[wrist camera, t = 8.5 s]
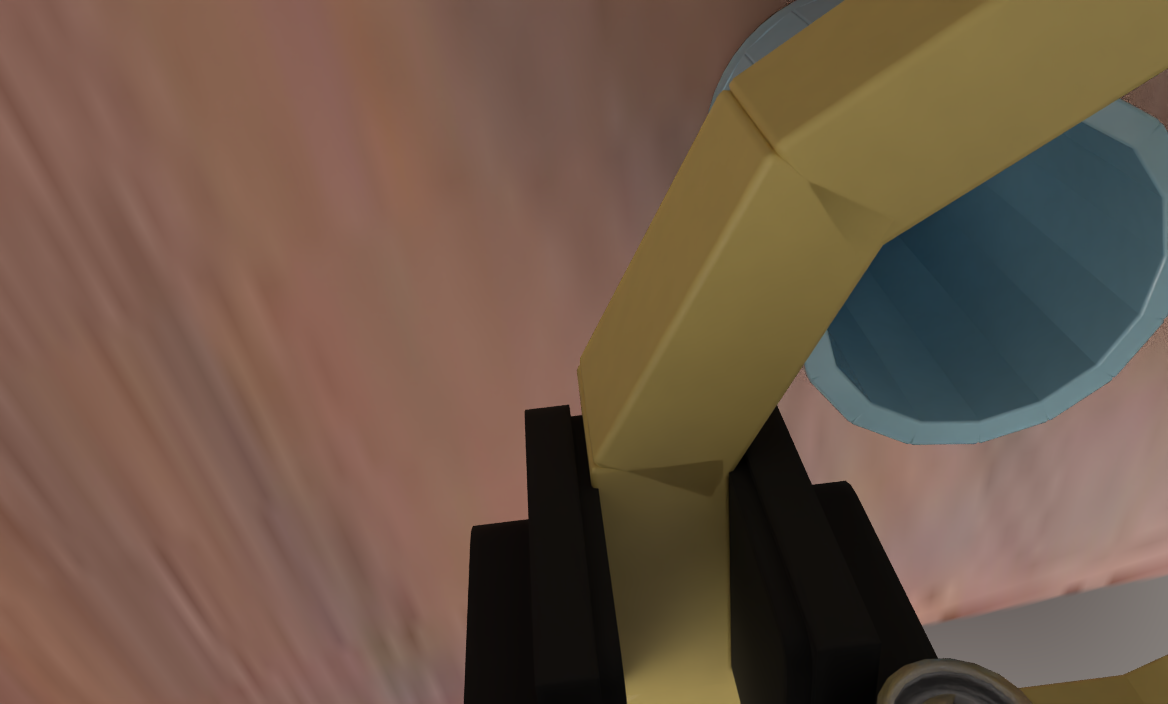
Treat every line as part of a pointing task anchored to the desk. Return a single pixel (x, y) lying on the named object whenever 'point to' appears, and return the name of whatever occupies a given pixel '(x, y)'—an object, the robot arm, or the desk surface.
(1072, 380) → the cup
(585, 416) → the ring
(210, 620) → the desk surface
